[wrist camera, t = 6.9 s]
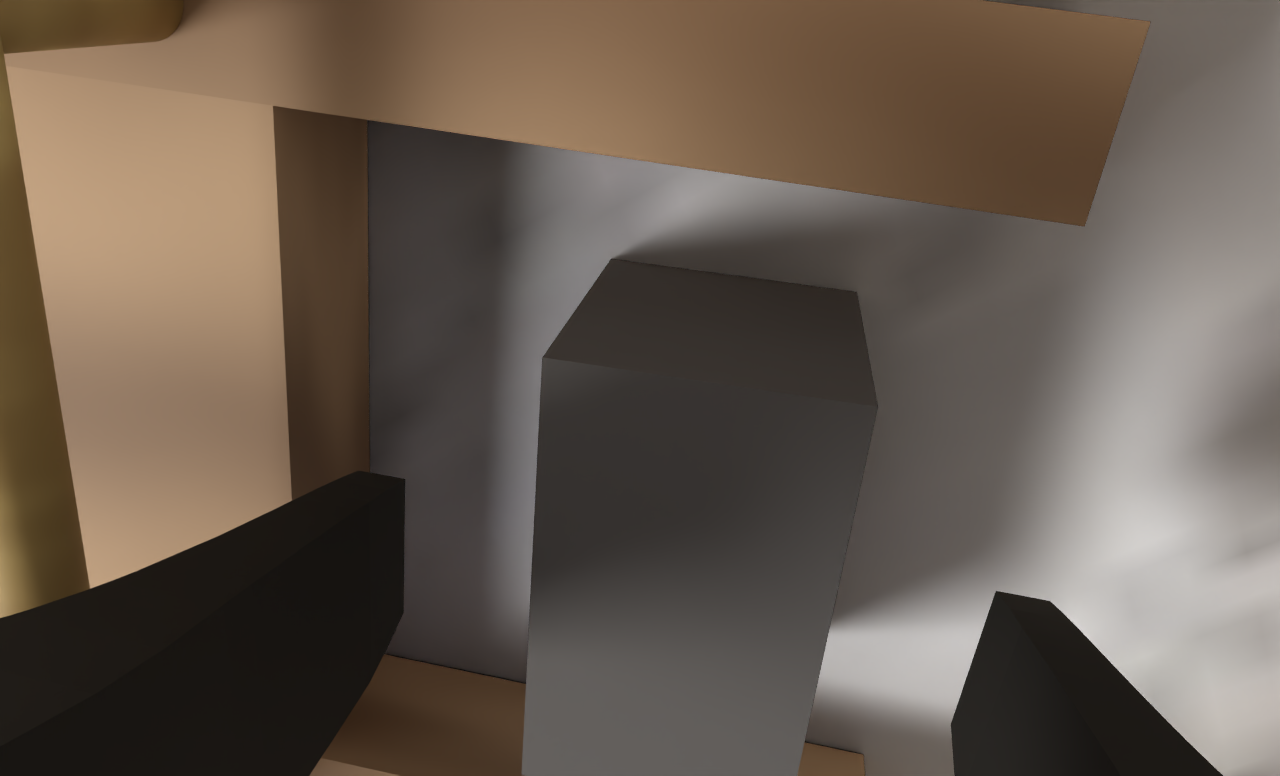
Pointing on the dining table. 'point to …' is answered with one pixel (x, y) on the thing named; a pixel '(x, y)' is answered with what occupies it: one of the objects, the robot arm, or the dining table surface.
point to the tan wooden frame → (338, 234)
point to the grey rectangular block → (690, 521)
